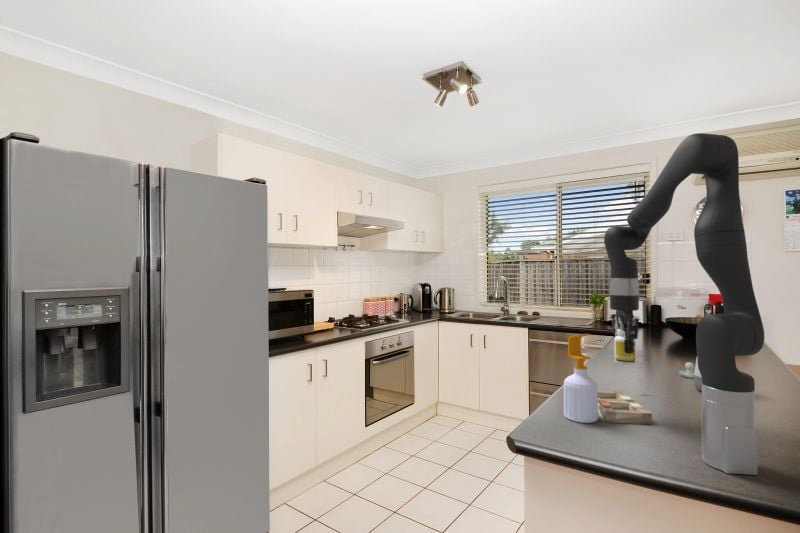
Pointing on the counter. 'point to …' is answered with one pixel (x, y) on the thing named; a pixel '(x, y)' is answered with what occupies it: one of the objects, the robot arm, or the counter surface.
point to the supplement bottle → (622, 350)
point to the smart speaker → (697, 378)
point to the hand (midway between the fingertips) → (624, 350)
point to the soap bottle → (580, 387)
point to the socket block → (621, 408)
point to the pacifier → (688, 371)
